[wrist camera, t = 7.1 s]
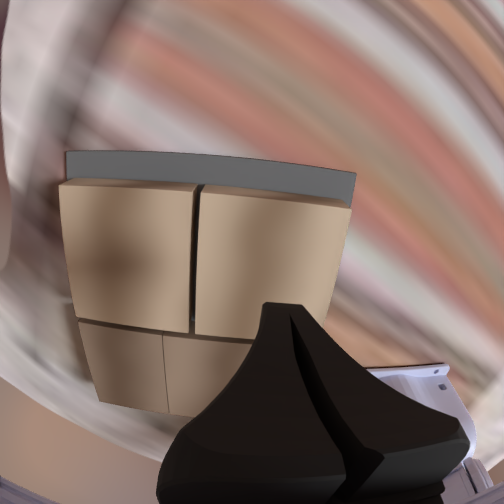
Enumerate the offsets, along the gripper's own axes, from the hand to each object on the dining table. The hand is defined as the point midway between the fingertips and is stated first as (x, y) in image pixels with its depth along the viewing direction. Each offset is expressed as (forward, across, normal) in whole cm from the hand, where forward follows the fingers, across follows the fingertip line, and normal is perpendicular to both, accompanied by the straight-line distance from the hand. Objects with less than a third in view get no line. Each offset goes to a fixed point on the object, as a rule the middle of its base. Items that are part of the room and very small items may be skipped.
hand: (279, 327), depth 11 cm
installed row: (+7, +4, +9) cm, 12 cm away
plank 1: (+7, +7, +1) cm, 10 cm away
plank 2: (+7, 0, +1) cm, 7 cm away
